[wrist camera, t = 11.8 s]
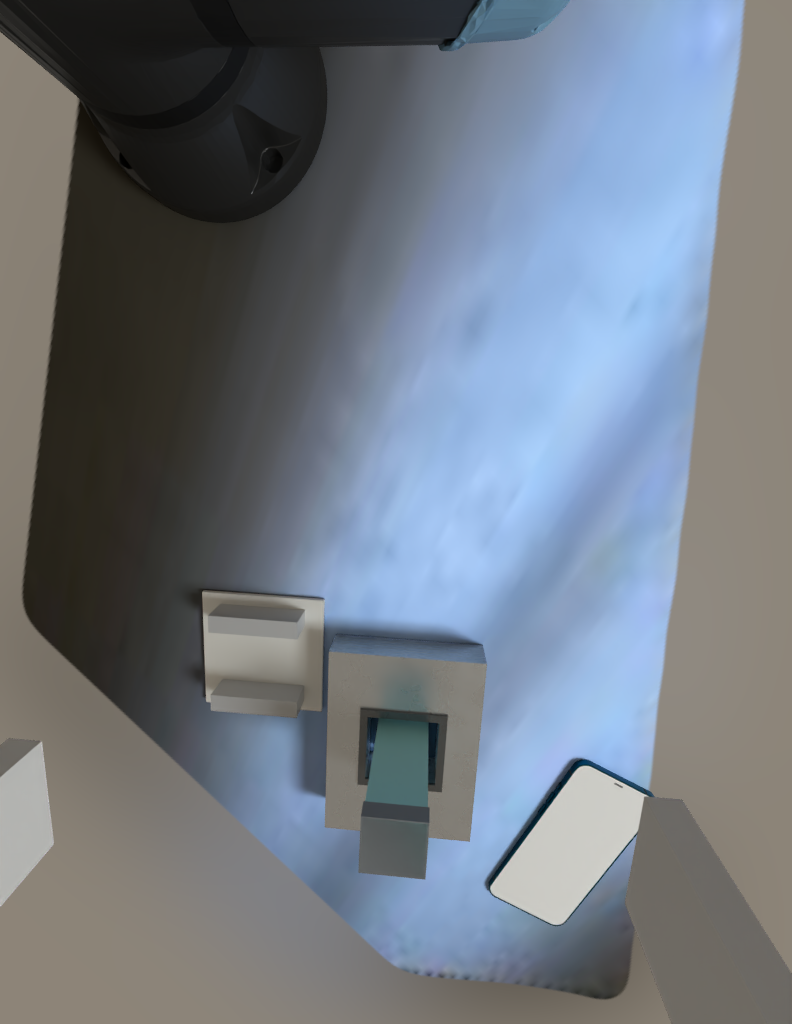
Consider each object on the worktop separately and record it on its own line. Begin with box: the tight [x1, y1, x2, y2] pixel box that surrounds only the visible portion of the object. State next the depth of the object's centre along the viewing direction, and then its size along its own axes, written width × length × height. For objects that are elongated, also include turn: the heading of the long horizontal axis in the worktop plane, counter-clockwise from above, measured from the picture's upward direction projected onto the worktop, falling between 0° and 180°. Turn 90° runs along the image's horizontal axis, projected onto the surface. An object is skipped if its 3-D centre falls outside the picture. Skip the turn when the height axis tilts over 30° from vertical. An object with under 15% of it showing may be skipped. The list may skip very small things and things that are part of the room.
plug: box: [359, 718, 430, 879], centre depth 37 cm, size 4×4×12 cm
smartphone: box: [489, 760, 654, 926], centre depth 44 cm, size 8×1×16 cm
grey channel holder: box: [202, 590, 325, 718], centre depth 41 cm, size 10×10×3 cm
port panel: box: [325, 634, 487, 842], centre depth 41 cm, size 16×12×3 cm
